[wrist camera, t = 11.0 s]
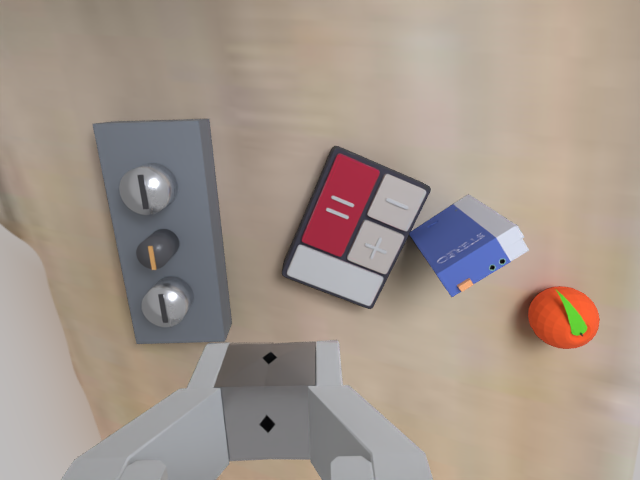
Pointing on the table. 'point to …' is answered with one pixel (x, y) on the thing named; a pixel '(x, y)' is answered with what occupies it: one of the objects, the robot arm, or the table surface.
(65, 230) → the table surface
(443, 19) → the table surface
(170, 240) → the dial
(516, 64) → the table surface
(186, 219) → the panel
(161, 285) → the knob
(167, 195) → the knob
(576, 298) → the clementine
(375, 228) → the calculator
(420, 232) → the walkman
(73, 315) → the table surface
